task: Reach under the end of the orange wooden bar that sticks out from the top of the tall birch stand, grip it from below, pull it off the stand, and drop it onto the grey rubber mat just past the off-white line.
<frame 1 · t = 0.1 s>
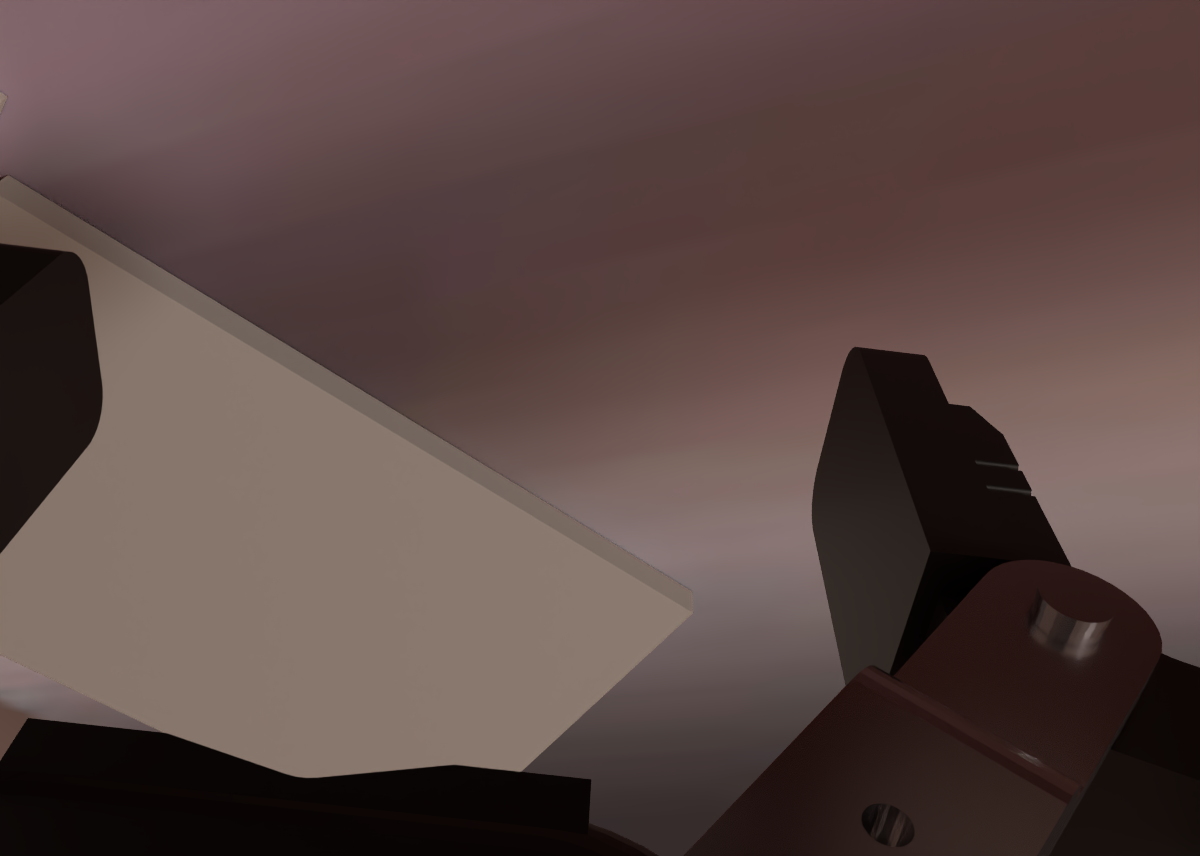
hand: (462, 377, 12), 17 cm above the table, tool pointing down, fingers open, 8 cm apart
mat: (261, 569, 36), on the table
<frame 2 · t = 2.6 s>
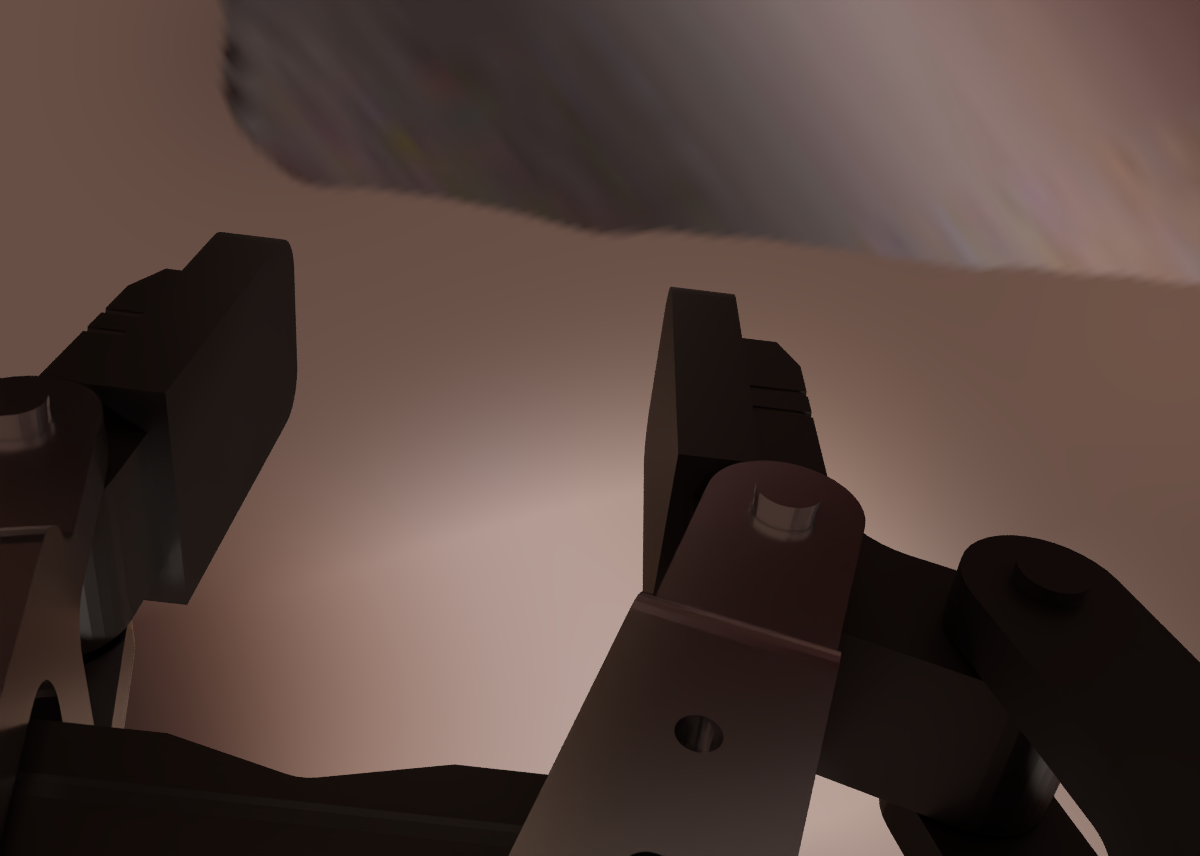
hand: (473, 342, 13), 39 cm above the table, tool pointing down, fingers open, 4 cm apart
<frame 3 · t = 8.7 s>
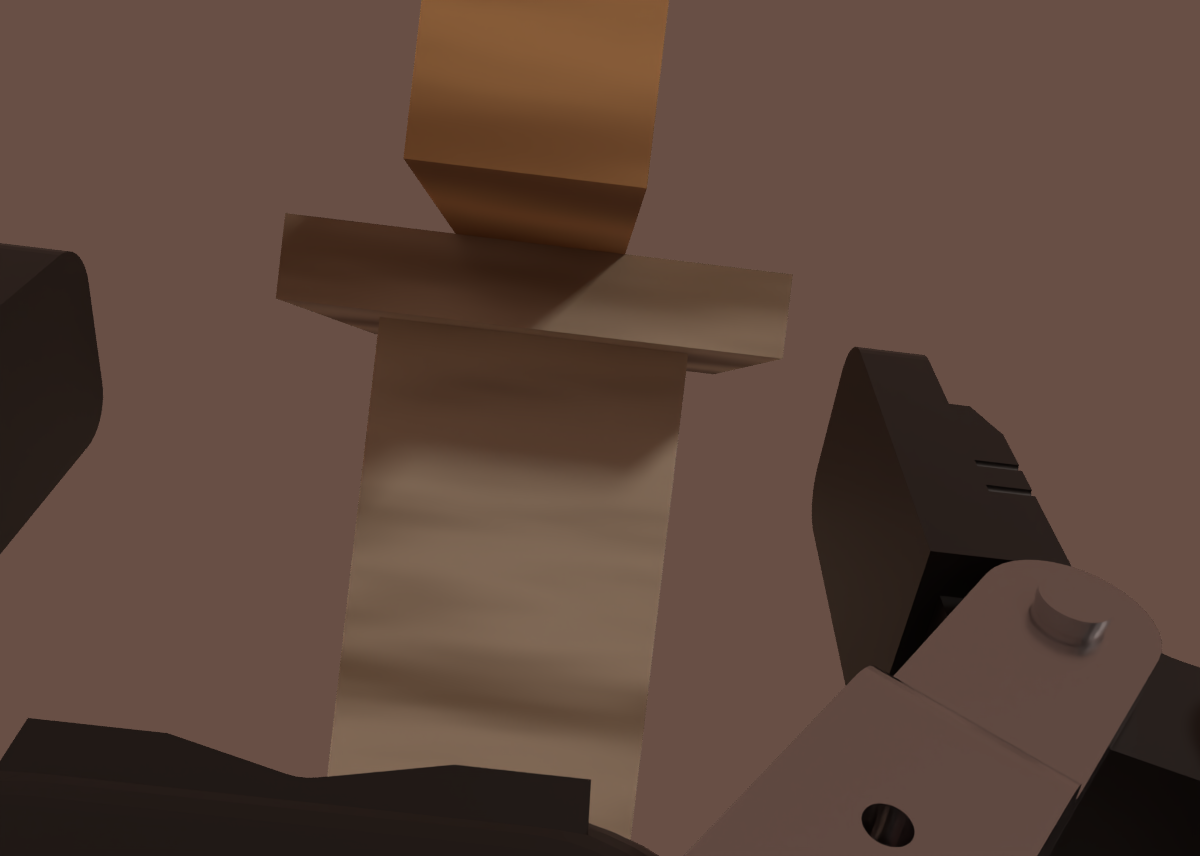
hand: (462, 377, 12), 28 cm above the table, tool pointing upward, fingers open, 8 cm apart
bar: (542, 255, 28), point 32 cm above the table, touching stand
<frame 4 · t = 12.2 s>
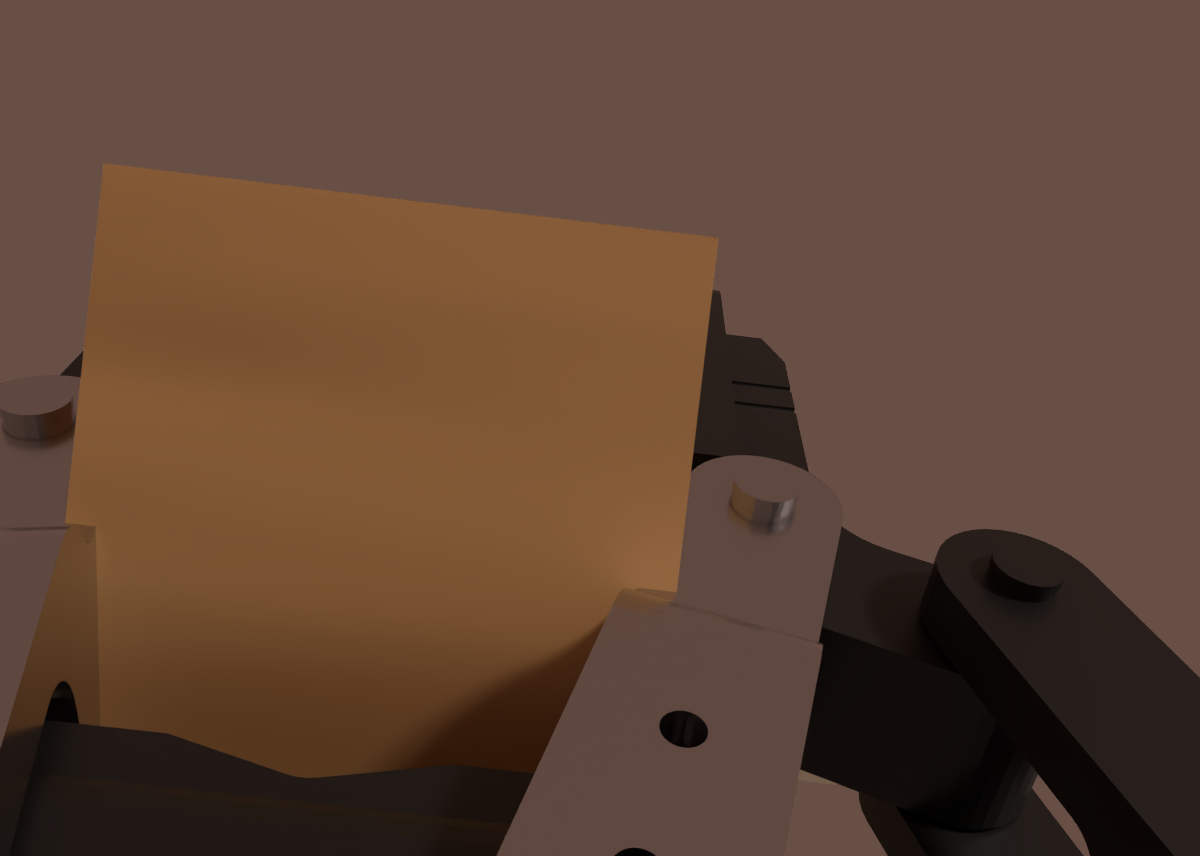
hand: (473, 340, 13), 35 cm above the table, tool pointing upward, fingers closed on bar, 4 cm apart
bar: (477, 575, 17), point 32 cm above the table, touching gripper, stand
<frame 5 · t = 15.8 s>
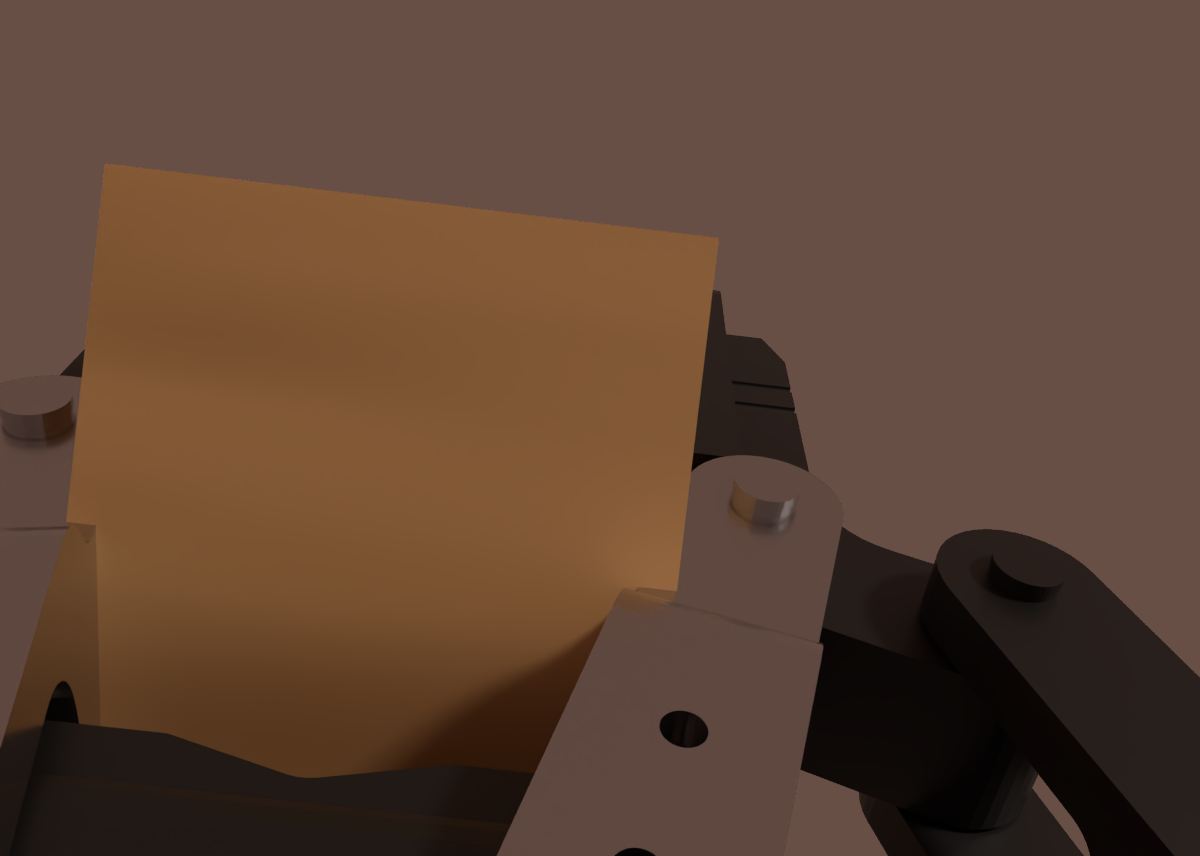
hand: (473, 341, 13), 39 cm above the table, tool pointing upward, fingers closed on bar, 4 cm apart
bar: (477, 574, 17), point 36 cm above the table, touching gripper
when the fingers open (26 cm above the table, at t = 19.5 s): bar drops 22 cm, resting on mat.
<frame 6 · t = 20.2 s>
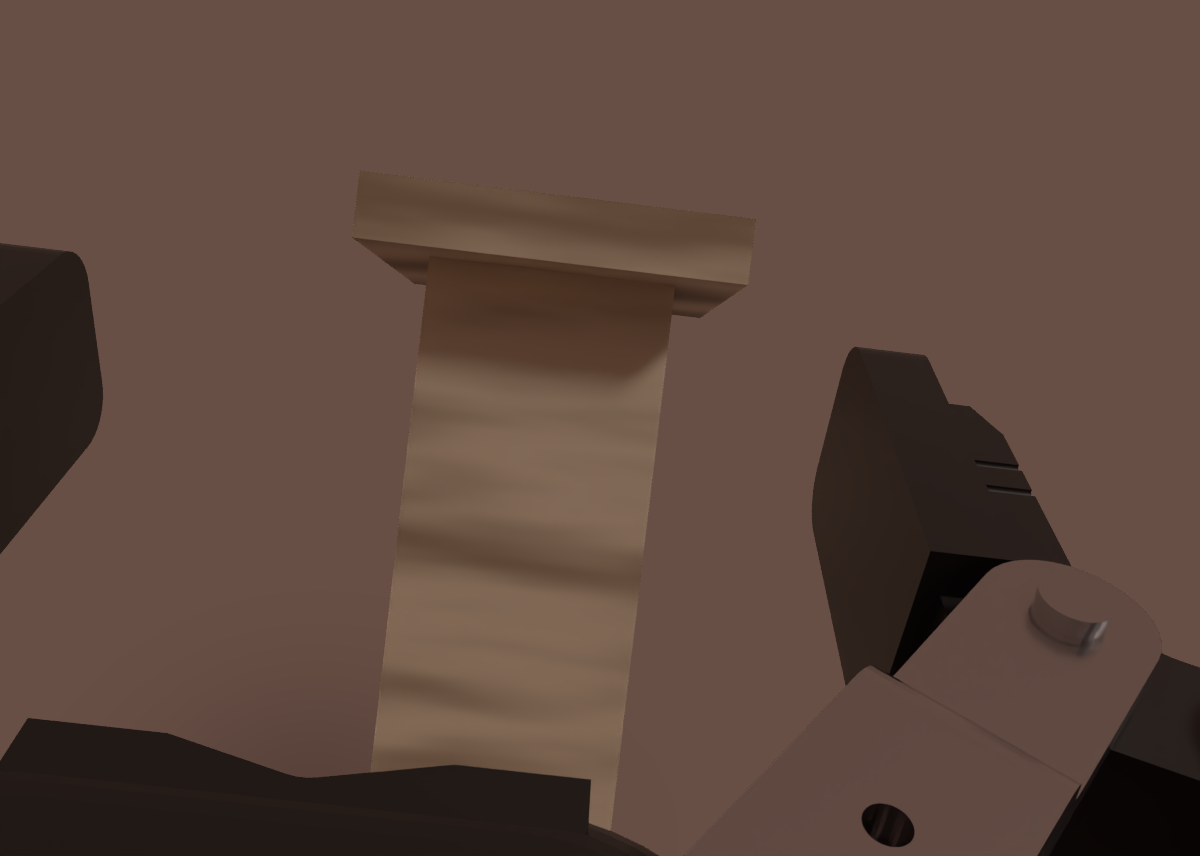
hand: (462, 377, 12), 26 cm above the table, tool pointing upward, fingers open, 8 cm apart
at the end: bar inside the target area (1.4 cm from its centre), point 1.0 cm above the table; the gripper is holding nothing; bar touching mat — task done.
